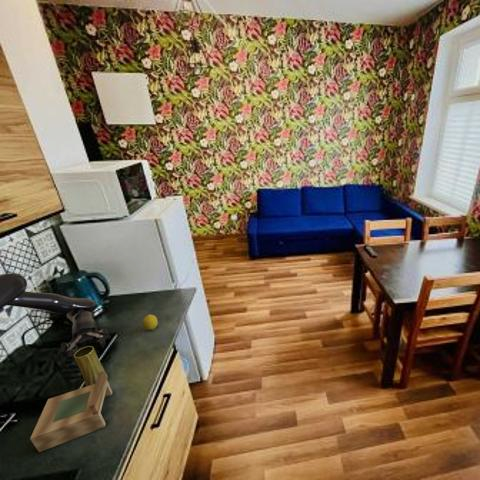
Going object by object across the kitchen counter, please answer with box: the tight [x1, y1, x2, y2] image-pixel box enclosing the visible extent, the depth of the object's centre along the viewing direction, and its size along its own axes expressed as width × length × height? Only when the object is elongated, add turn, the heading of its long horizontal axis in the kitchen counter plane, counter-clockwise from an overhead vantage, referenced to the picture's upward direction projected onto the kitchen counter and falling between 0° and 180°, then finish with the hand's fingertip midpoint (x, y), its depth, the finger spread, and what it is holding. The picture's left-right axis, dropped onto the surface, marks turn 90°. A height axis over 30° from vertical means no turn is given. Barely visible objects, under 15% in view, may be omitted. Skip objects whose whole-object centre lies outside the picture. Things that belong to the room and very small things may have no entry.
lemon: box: [142, 314, 158, 331], centre depth 118 cm, size 6×6×8 cm
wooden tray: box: [29, 371, 113, 453], centre depth 81 cm, size 15×13×10 cm
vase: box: [74, 345, 109, 387], centre depth 92 cm, size 6×6×14 cm
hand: (87, 351), depth 97 cm, fingers open, 8 cm apart
